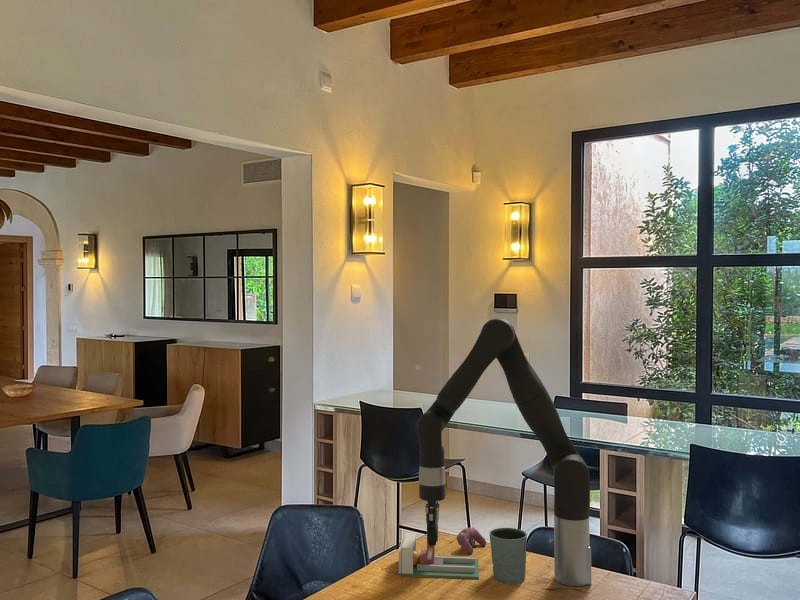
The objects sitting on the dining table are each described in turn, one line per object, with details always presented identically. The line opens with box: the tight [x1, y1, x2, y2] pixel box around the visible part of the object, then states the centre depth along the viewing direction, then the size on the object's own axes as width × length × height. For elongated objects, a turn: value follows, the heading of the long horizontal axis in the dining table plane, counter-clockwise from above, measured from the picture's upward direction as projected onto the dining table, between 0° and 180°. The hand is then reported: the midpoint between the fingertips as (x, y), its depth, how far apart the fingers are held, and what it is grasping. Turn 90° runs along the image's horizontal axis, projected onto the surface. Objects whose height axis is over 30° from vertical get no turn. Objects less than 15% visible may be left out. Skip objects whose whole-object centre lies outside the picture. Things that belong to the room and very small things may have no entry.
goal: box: [398, 532, 417, 574], centre depth 186 cm, size 4×12×7 cm, turn 174°
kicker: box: [419, 523, 444, 565], centre depth 186 cm, size 6×14×11 cm, turn 174°
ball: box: [413, 550, 420, 566], centre depth 186 cm, size 4×4×4 cm
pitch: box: [397, 555, 480, 580], centre depth 185 cm, size 22×13×2 cm, turn 84°
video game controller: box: [456, 527, 487, 555], centre depth 202 cm, size 10×5×7 cm, turn 145°
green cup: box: [489, 527, 528, 585], centre depth 179 cm, size 10×10×12 cm
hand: (432, 542), depth 186 cm, fingers closed on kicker, 3 cm apart
